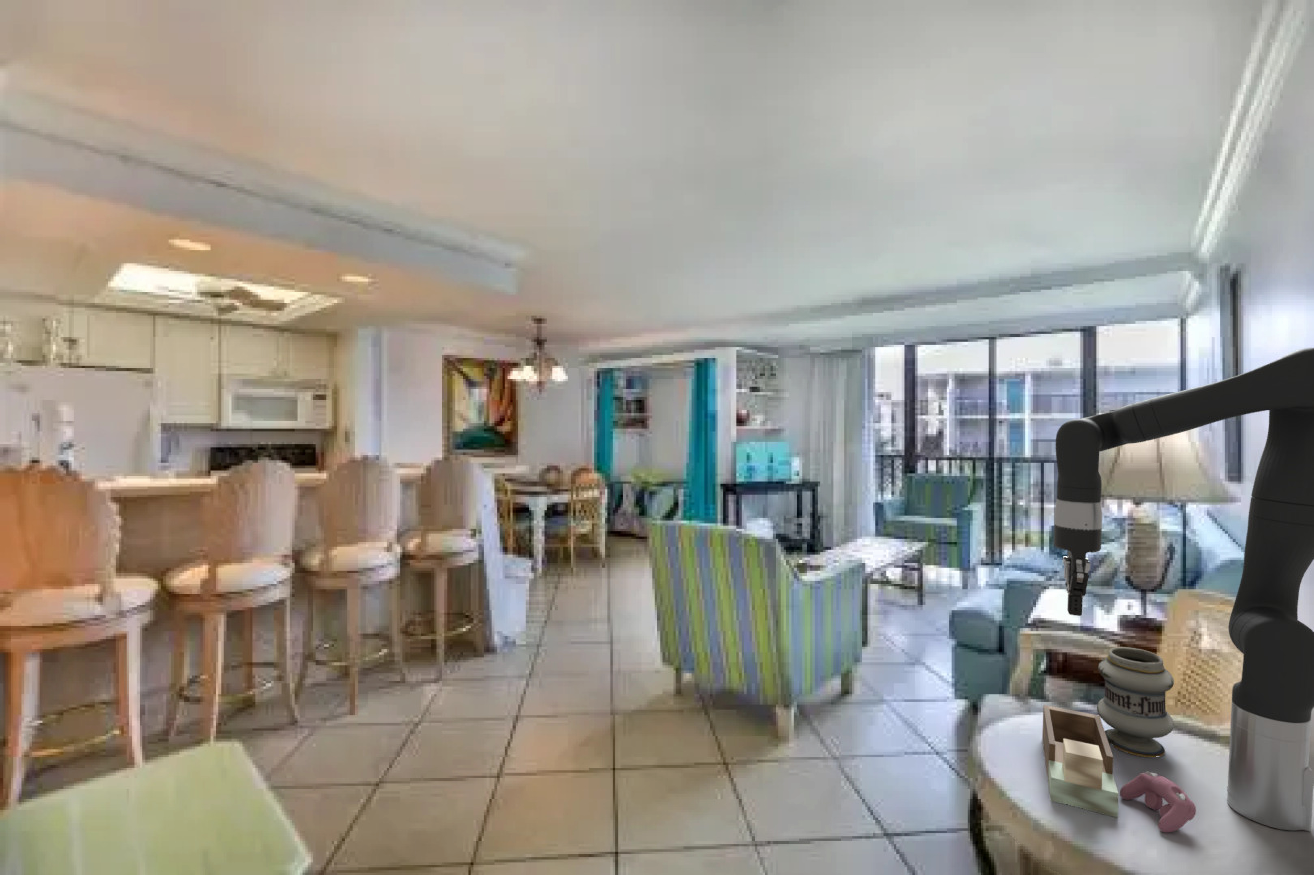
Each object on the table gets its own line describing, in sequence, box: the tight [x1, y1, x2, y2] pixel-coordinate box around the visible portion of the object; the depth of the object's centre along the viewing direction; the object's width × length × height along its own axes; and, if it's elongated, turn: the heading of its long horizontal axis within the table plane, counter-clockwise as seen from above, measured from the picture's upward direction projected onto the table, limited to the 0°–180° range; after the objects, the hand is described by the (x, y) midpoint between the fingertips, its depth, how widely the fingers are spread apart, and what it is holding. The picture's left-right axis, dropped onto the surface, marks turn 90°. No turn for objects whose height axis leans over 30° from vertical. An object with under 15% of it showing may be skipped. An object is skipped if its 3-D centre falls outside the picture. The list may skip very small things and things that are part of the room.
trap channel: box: [1041, 704, 1120, 818], centre depth 114 cm, size 9×22×7 cm, turn 152°
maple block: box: [1062, 738, 1103, 790], centre depth 106 cm, size 5×5×5 cm
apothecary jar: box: [1096, 646, 1175, 758], centre depth 124 cm, size 12×12×18 cm
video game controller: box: [1119, 770, 1197, 833], centre depth 103 cm, size 10×5×7 cm, turn 0°
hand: (1074, 614), depth 121 cm, fingers closed
